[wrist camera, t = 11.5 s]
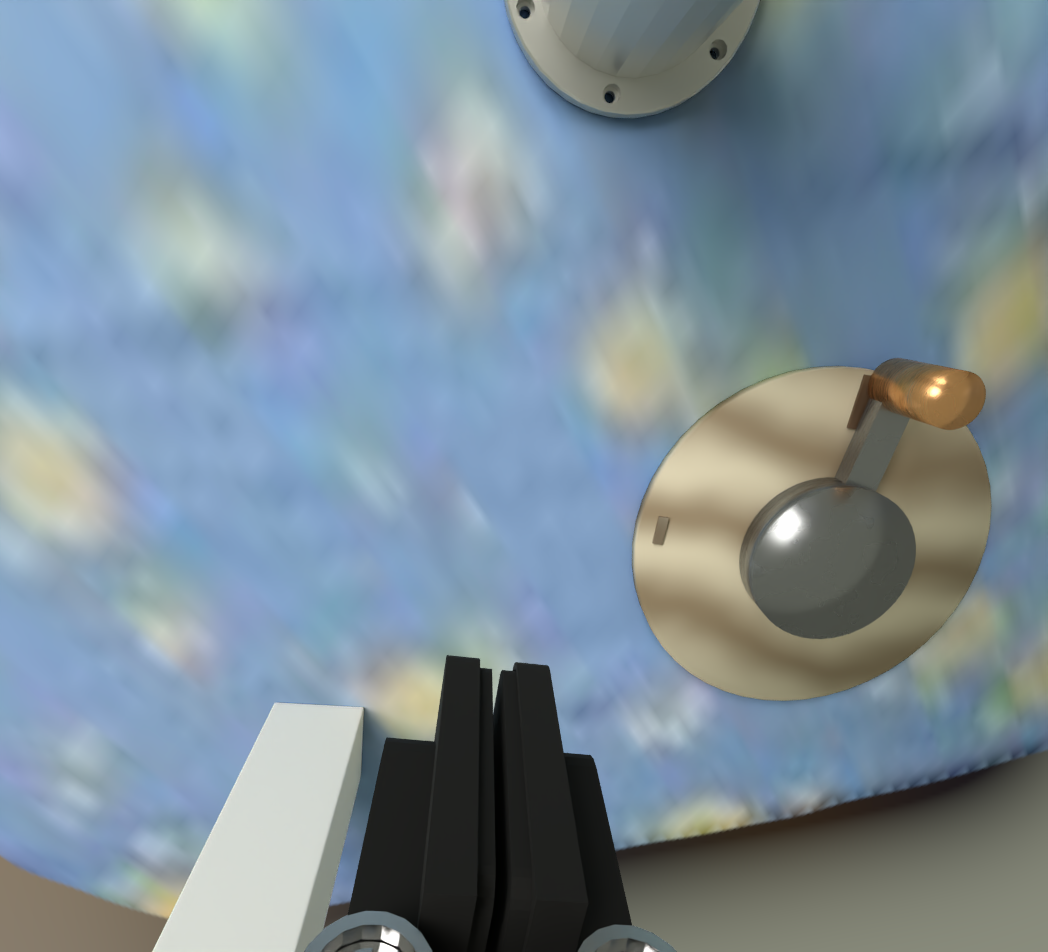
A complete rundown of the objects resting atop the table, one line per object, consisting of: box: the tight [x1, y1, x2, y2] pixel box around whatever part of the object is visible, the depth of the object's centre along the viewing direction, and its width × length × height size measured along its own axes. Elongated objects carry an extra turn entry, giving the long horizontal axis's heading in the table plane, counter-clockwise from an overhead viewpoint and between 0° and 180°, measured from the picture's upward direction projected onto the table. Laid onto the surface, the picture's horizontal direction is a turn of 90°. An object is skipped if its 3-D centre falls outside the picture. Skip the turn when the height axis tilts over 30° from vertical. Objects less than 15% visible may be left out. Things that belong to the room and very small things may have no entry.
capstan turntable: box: [739, 358, 986, 639], centre depth 35 cm, size 18×10×5 cm, turn 165°
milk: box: [152, 703, 364, 952], centre depth 32 cm, size 6×6×22 cm
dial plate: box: [632, 366, 991, 701], centre depth 39 cm, size 23×23×1 cm
